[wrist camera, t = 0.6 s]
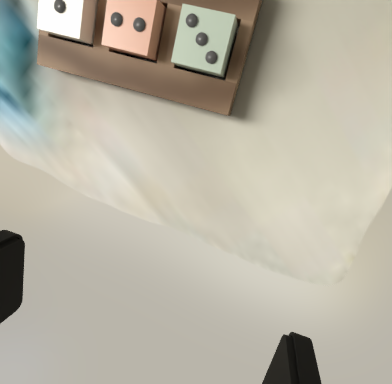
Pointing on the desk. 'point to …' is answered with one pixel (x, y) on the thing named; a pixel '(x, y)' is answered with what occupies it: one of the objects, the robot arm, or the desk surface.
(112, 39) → the button two dots
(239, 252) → the desk surface
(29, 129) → the desk surface
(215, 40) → the button three dots
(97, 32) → the button board
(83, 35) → the button one dot
